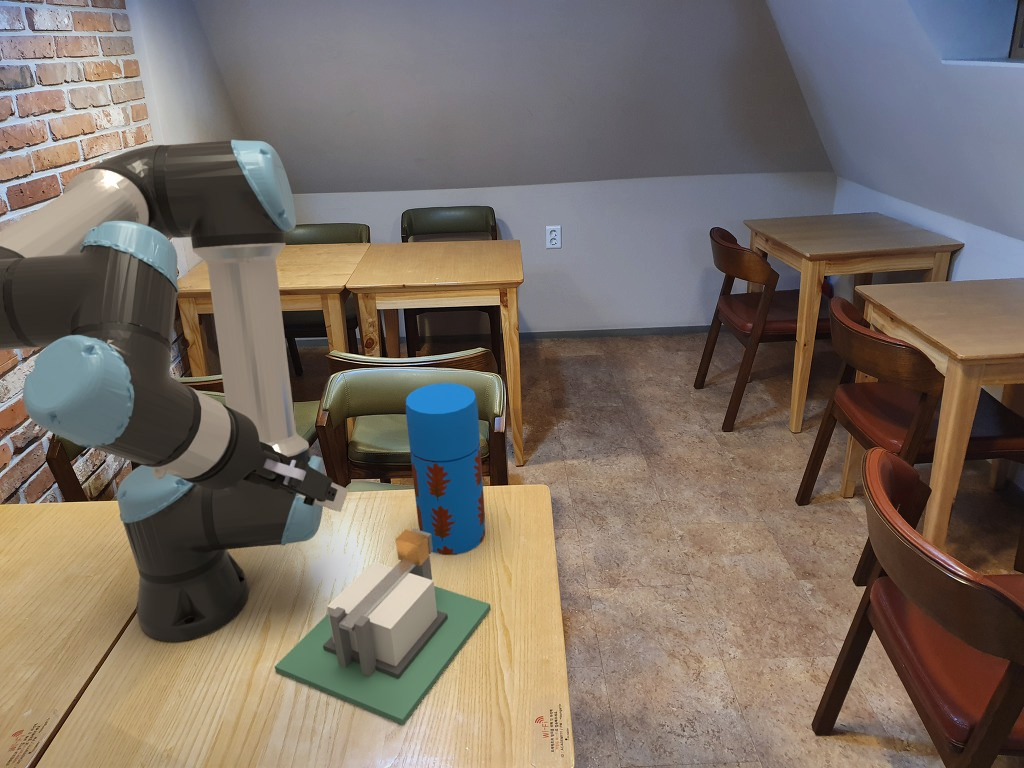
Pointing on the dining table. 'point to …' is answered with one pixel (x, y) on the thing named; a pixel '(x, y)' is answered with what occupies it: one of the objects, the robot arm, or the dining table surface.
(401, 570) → the grey and orange bar
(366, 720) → the dining table surface
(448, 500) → the thermos
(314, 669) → the lever on green base
